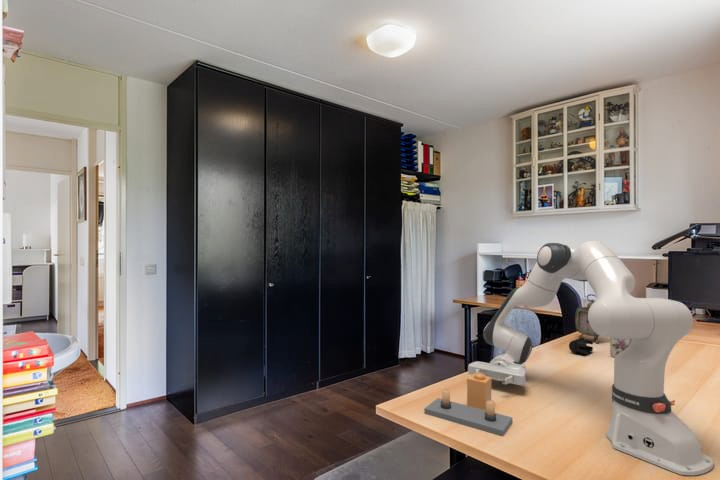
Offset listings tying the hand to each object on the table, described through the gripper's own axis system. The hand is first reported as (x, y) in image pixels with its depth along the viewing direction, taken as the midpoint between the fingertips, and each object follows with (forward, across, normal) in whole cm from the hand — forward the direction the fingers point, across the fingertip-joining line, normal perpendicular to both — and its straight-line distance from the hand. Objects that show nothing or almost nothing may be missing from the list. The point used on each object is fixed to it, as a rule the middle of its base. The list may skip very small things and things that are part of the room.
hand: (490, 378), depth 138 cm
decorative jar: (-80, +39, +6) cm, 89 cm away
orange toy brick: (+11, 0, +6) cm, 12 cm away
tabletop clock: (-106, +22, +6) cm, 108 cm away
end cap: (-76, +20, +6) cm, 79 cm away
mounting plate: (+22, 0, +6) cm, 23 cm away
